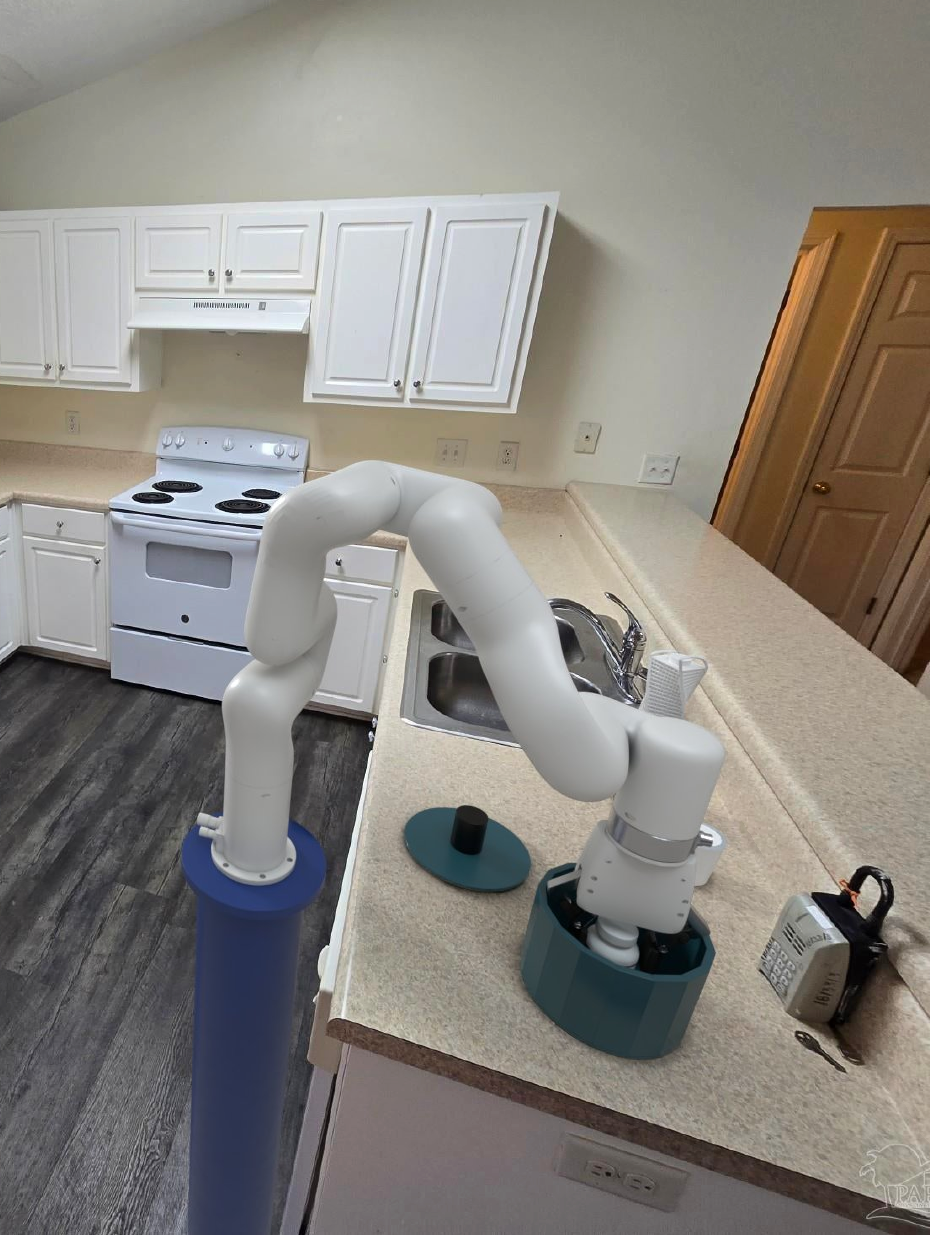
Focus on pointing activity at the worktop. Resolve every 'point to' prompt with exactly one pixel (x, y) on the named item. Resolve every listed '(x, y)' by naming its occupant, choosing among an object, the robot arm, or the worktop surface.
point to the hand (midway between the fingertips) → (608, 956)
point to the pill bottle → (614, 941)
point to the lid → (467, 848)
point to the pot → (609, 984)
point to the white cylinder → (709, 854)
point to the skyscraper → (671, 683)
